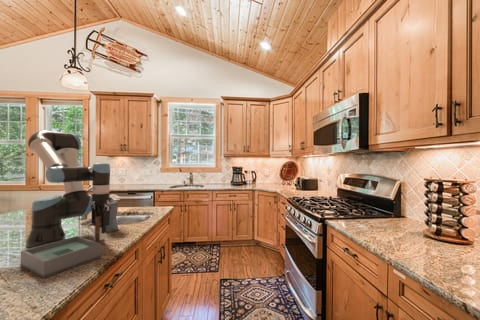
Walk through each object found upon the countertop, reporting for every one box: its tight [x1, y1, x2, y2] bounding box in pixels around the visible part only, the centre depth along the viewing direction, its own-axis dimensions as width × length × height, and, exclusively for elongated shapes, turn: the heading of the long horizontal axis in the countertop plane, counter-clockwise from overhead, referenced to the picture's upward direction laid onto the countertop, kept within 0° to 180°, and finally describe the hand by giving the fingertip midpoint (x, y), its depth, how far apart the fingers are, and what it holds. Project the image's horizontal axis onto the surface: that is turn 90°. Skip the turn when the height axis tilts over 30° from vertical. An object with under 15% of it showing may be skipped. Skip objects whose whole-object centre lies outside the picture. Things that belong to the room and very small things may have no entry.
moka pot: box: [102, 197, 119, 233], centre depth 133 cm, size 10×15×20 cm, turn 24°
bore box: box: [19, 235, 103, 279], centre depth 90 cm, size 20×20×6 cm
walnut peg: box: [94, 216, 105, 245], centre depth 110 cm, size 4×4×14 cm
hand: (99, 238), depth 110 cm, fingers closed on walnut peg, 4 cm apart
